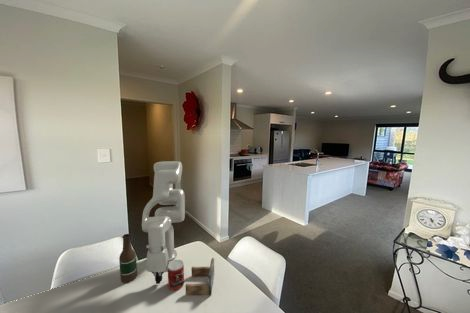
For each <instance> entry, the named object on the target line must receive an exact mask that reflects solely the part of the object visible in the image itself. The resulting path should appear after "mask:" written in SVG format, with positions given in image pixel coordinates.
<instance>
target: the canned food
mask: <svg viewBox="0 0 470 313" xmlns="http://www.w3.org/2000/svg"><path fill="white" fill-rule="evenodd" d="M184 266H185V265H184V261H183V260H182V259H173V260H171V261H169V264H168V272H167V282H168V284H167V285H168V287H169V288H168V289H169V290H171V291H178V290H180V289H182V288H183V286H184V284H185V271H184V270H185V267H184Z"/></svg>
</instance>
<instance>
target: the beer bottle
mask: <svg viewBox="0 0 470 313" xmlns="http://www.w3.org/2000/svg"><path fill="white" fill-rule="evenodd" d="M121 238H122V251H121V253H120V254H119V258H118V259H119V261H118V262H119V273H120V275H119V276H120V280H121V283H122V284H123V283H124V284H127V283H130V282H133V281H134V280H135V279H136V277H137V275H138V268H137V267H138V266H137V253H136V252H135V250H134V249H133V248H132V242H131V234H130V233H126V234H123V235H122V237H121Z"/></svg>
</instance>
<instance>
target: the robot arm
mask: <svg viewBox="0 0 470 313" xmlns="http://www.w3.org/2000/svg"><path fill="white" fill-rule="evenodd" d="M153 172H154V176H153V190H152V191H153V192H152V198H150V200H149V201H148V202H147V203H146V205H145V206H144V208H143V211H142V219H141V228H142V229H141V230H142V231H143V232H144V233H148V235H147V236H148V244H147V245H146V247H145V248H146V249H148V250H147V252H146V253H147V254H146V260H145V270H146V272H148V273H151V274H152V275H153V276H154V281H155V284H156V285H160V284H161V282H162V281H163V274H164V273H168V264H169V263H170V262H171V261H174V260H175V259H176V257H177V256H178V252H177V251H176V250H175V239H174V238H175V236H174V226H173V225H172V224H174V223H181V222H183V221H184V220H185V216H186V210H185V209H186V206H185V205H186V198H185V197H186V196H185V191H184V190H183V189H182V188H173V186H174V185H175V184H180V182H181V179H182V173H183V164H182V162H181V161H177V160H176V161H173V160H172V161H169V160H167V161H166V160H165V161H158V162H155V163H154V164H153ZM157 204H159V205H160V206H161V205H162V207H158V208H157V209H156V210H155V212H154V216H150V213H151V210H152V208H154V207H155V206H156V205H157ZM163 205H164V206H163ZM168 205H171V206H168ZM172 205H176V206H172Z"/></svg>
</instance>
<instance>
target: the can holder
mask: <svg viewBox="0 0 470 313" xmlns="http://www.w3.org/2000/svg"><path fill="white" fill-rule="evenodd" d="M190 270H191V278H207V280H208V281H207V283H185V296H186V297H187V296H191V297H192V296H204V297H205V296H208V297H210V296H212V294H213V285H214V280H215V258H214V257H212V258H211V260H210V265H209V266H191V269H190Z"/></svg>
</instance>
